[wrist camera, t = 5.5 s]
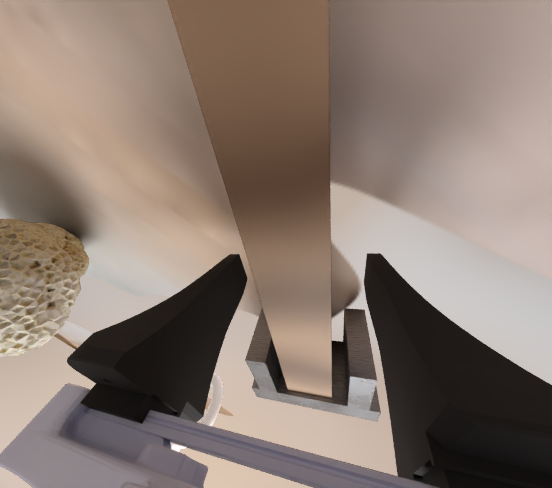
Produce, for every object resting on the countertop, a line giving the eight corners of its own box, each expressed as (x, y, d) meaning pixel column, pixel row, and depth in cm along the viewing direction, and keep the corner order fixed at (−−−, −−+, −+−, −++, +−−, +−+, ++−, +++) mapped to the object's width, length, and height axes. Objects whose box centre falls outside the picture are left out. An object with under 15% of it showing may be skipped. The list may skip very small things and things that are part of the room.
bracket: (374, 310, 15) (391, 382, 11) (366, 355, 19) (377, 421, 15) (255, 302, 18) (235, 358, 14) (270, 343, 22) (257, 396, 18)
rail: (330, 337, 19) (331, 398, 15) (295, 333, 20) (288, 389, 16) (327, 2, 7) (327, -127, 3) (240, 31, 8) (155, -40, 4)
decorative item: (87, 184, 14) (-221, 285, 6) (153, 273, 19) (26, 396, 11) (-1, 203, 18) (-268, 284, 10) (73, 274, 22) (-67, 367, 14)
